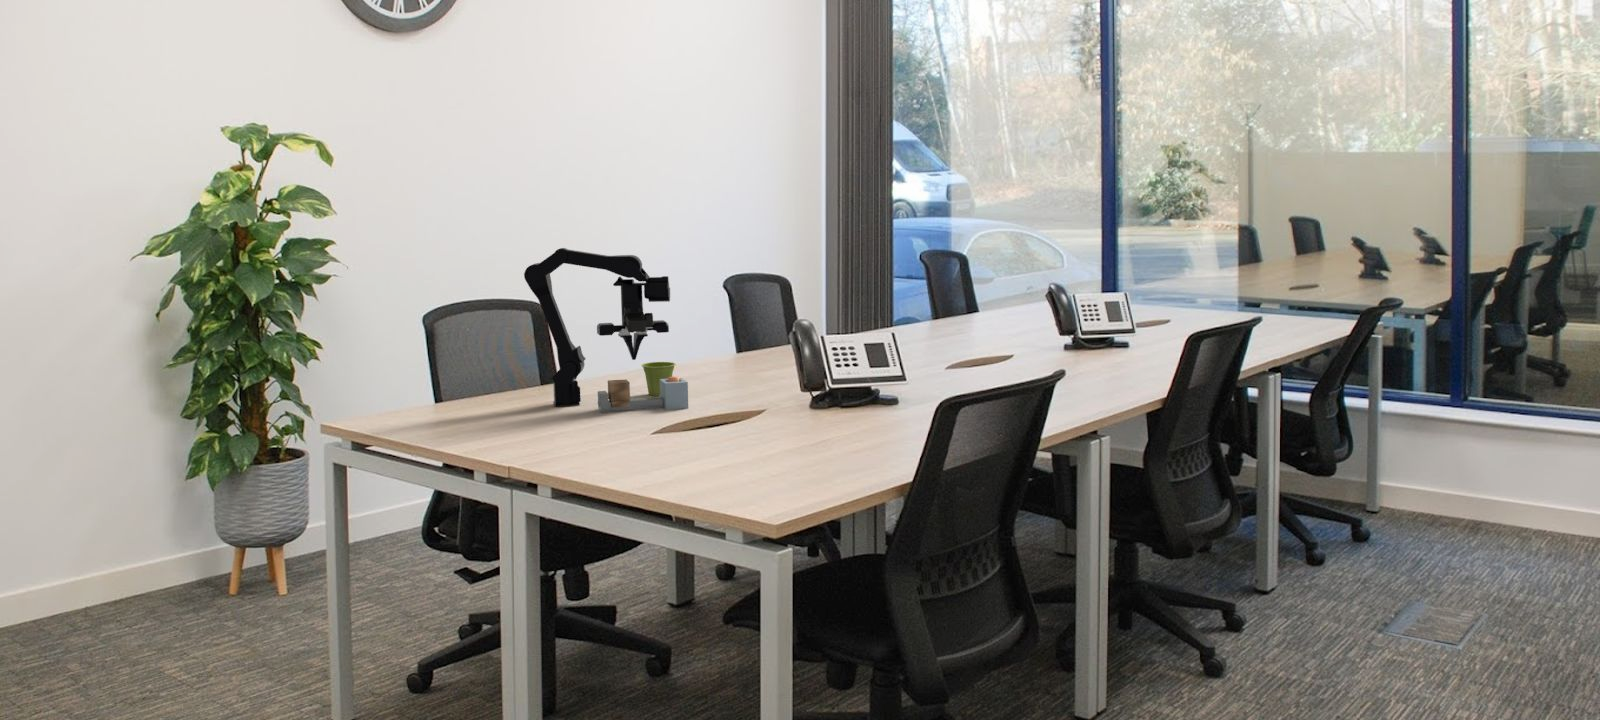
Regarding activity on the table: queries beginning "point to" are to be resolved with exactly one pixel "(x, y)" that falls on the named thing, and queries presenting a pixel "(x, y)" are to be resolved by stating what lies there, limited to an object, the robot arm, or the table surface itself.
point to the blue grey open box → (674, 394)
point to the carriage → (619, 393)
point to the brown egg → (673, 379)
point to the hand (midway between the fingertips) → (633, 359)
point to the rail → (635, 404)
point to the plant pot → (657, 375)
